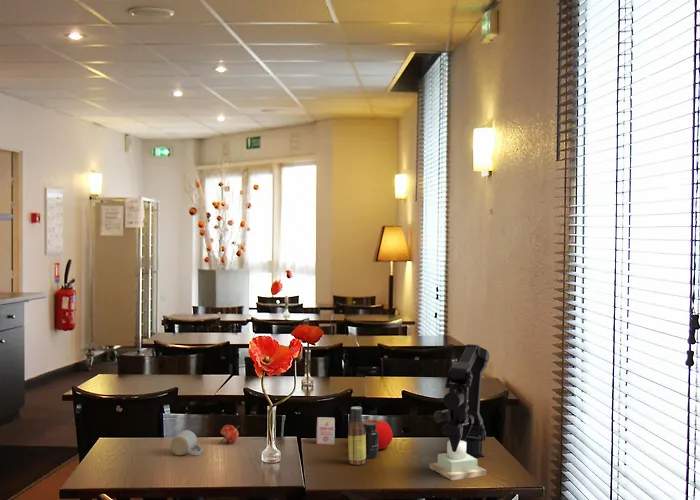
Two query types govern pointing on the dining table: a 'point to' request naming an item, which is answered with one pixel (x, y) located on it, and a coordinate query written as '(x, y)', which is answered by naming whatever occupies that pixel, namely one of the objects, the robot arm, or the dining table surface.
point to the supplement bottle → (371, 440)
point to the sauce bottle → (356, 438)
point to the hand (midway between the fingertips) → (458, 448)
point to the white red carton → (325, 431)
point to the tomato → (383, 433)
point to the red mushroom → (229, 433)
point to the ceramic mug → (185, 443)
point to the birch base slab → (457, 475)
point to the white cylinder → (457, 451)
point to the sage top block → (457, 463)
